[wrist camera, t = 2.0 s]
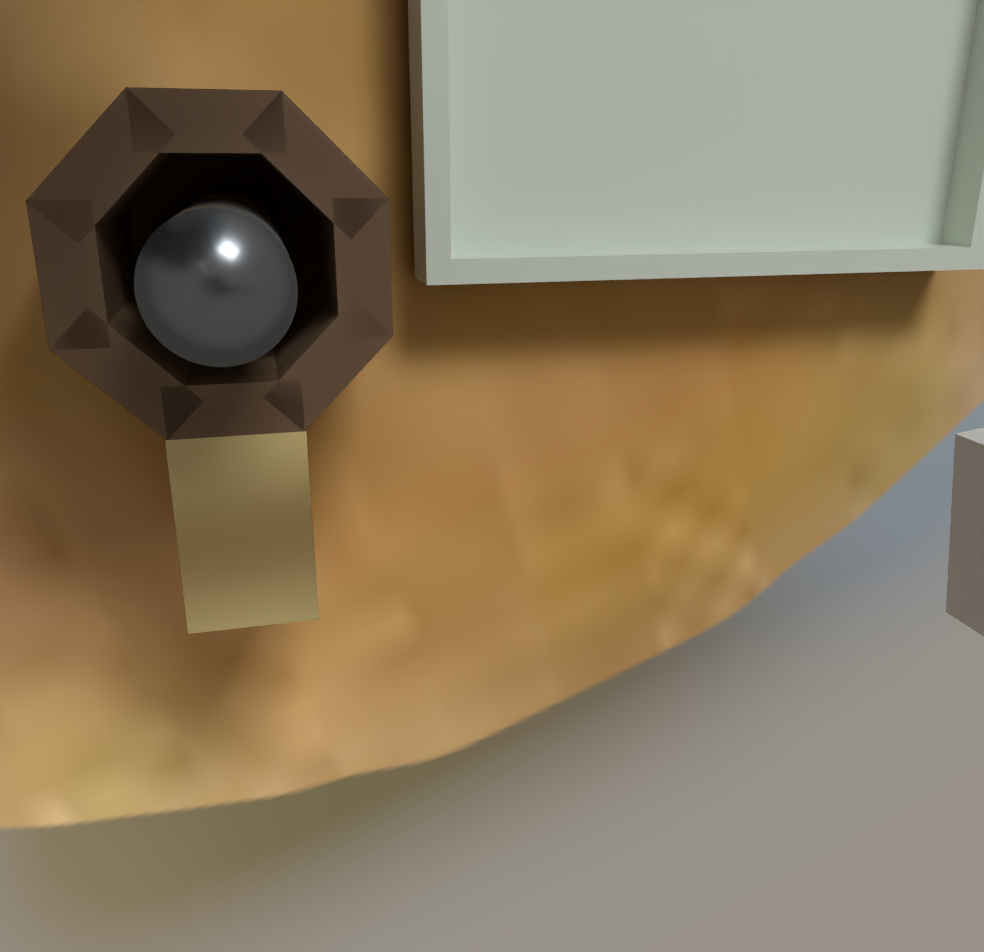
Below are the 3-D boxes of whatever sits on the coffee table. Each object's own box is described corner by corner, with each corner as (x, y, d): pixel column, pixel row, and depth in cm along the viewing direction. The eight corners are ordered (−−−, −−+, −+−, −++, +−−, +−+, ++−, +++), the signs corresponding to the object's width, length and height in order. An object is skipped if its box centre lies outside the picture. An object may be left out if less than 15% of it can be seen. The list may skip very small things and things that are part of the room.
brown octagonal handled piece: (63, 103, 24) (7, 84, 18) (355, 108, 25) (385, 92, 20) (125, 549, 28) (94, 644, 22) (373, 526, 29) (402, 609, 24)
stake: (177, 305, 26) (144, 371, 18) (165, 194, 25) (124, 208, 17) (285, 301, 27) (303, 363, 18) (278, 193, 26) (292, 206, 17)
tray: (414, 277, 27) (426, 285, 25) (399, -315, 23) (413, -358, 21) (942, 263, 32) (985, 269, 30) (1020, -238, 27) (1077, -267, 25)
